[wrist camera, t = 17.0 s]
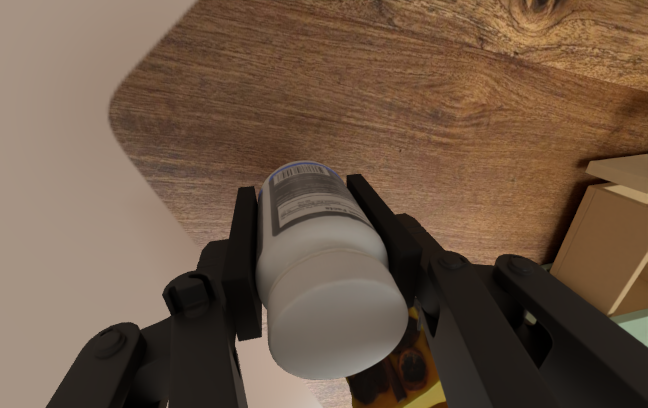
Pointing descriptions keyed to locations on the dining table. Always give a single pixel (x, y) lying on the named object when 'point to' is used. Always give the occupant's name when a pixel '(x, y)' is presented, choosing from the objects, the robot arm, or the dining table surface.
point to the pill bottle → (323, 276)
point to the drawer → (610, 239)
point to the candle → (401, 374)
